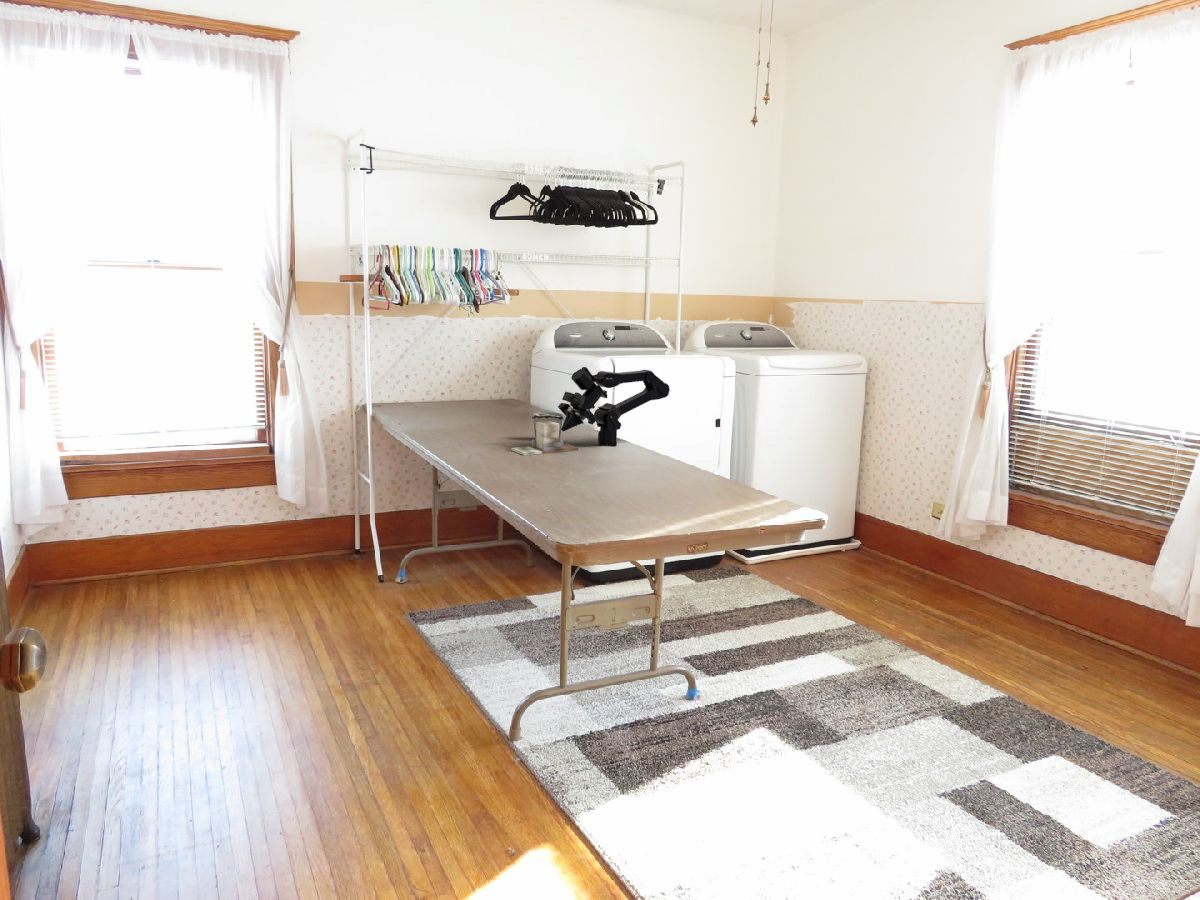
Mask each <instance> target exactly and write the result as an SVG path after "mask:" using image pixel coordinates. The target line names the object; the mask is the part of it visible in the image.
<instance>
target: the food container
mask: <svg viewBox="0 0 1200 900" xmlns="http://www.w3.org/2000/svg"><path fill="white" fill-rule="evenodd" d="M531 420H533V426H534V427H533V428H534V439H536V422H546V421H552V422H556V423H559V442H561V436H562V430H561V428H562V426H563V421H565V417H564V414H563V413H559V412H554V411H553V412H550V411H549V412H548V411H547V412H546V411H544V412H543V411H542V412H534V413H533V414H532V417H531Z"/></svg>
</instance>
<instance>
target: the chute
mask: <svg viewBox="0 0 1200 900" xmlns="http://www.w3.org/2000/svg"><path fill="white" fill-rule="evenodd" d="M510 451H512V452H514V453H518V454H519V455H522V456H530V455H531V456H532V455H542V454H551V453H552V454H553V453H562V452H572V451H574V452H575V451H579V447H576V446H573V445H570V444H567V443H565V442H564V441H559V442H553V443H542V449H541V448H538V447H536V439H535V438H534V439H531V445H530V446H529V445H527V446H518V447H511V449H510Z"/></svg>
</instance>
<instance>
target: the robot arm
mask: <svg viewBox="0 0 1200 900" xmlns="http://www.w3.org/2000/svg"><path fill="white" fill-rule="evenodd" d="M570 378H571V380H572V381H573V382H574V383H575V385H576V386H577V387H578V389H580V391H584V392H583V393H580V392H576V391H575V392H574V393H573V392H570V391H566V390H565V391H564V393H563V395H562V399H561V400H562V401H566V402H568V403H566V402H560V403H559V404H558V405H557V409H559V410H560V411H561V413H562V414H563V416H565V417H564V420H563V422H562V427H561V432H566V431H568V430H570V429H572V428H574V427H577V426H580V425H583V424H584V421H585V420H586V419H587V423H588V424H589V425H595V424H596V426H597V427H598V428H599V430H598V434H597V443H598V445H599V446H607V447H609V446H610V447H611V446H612V447H613V446H614V447H617V445H618V440H617V439H618V436H617V434H618V430H621V427H622V422H621V421H619V419H620V418H621V416H623V415H624V414H627V413H629V412H631V411H633V410H634V409H636V408H638V407H640V406H642V405H645V404H646V403H648V402H650V401H656V400H661V399H665V398H667V397H668V396H669V394H670V390H671V389H670V386H669V384H668V383H666V382H665V381H663V380H662V379H661V378H659V377H658V376H657V375H656V374H655V373H654V372H653V371H652V370H650V369H642V370H632V371H623V372H614V371H613V372H612V371H604V370H601V371H598V372H597V373H596V374H592V373H591V371H590V370H589V369H588V367H587V366H582V367H581V368H579V369H577V370H576V371H574V372H573V373H572V374H571V377H570ZM636 382H642V383H643V385H644V389H643V390H642V391H640V392H638V393H636V394H634V395H632V396H630V397H628V398H626V399H624V400H621V401H620V402H618V403H616V404H613V403H608V402H606V403H604V404H602V405H600V406H597V409H596V410H594V409H595V408H596V406H595V404H597V402H598V401H599V399H601V398H604V399H608V391H607V390H606V389H612V388H616V387H617V386H619V385H621V384H627V383H628V384H629V383H636ZM604 388H605V389H604ZM591 409H593V410H594V413H593V412H592V411H591Z"/></svg>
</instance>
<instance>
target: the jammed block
mask: <svg viewBox="0 0 1200 900" xmlns="http://www.w3.org/2000/svg"><path fill="white" fill-rule="evenodd" d="M553 442H560V441H559V423H556V422H552V421H546V422H536V447H538V448H541V449H542V443H553Z"/></svg>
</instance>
